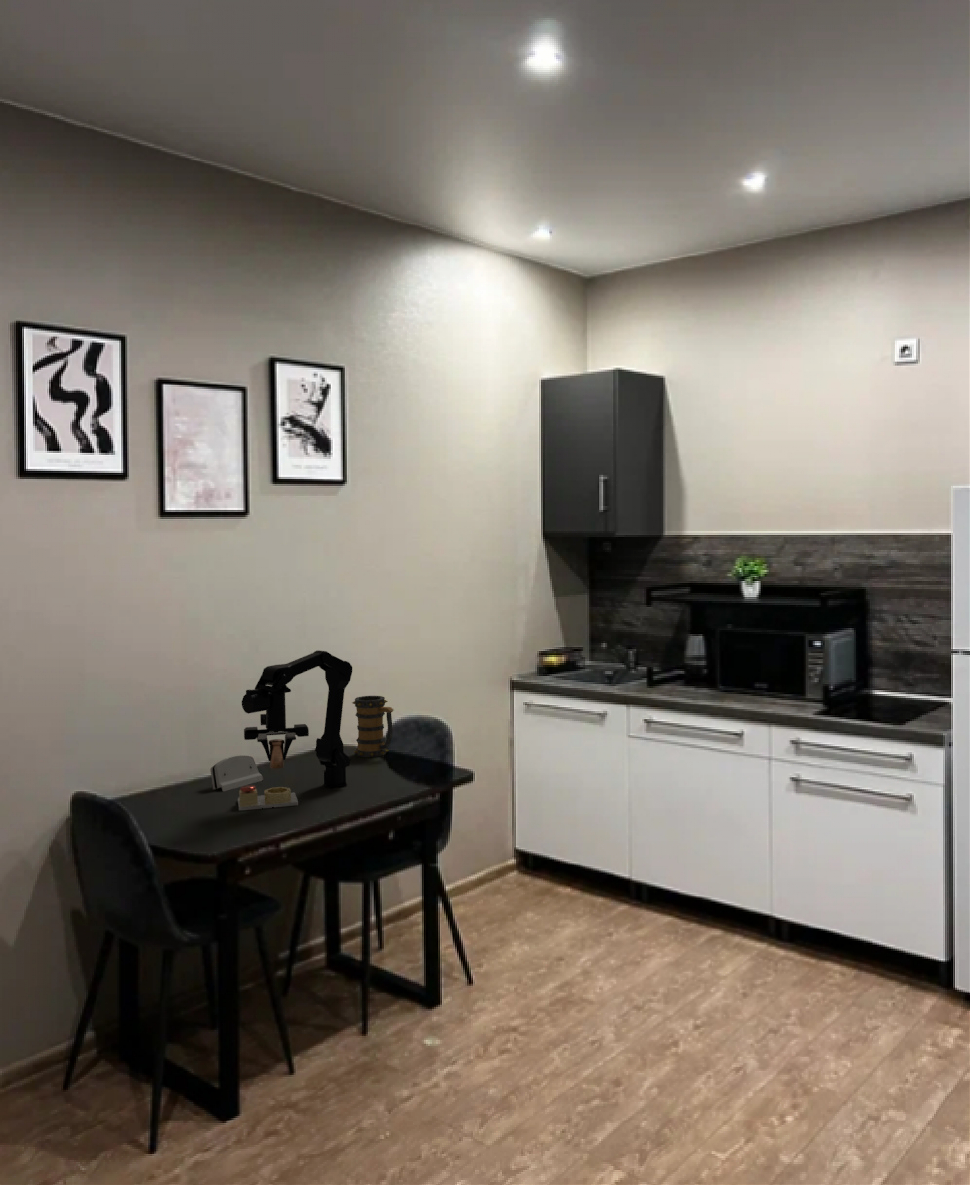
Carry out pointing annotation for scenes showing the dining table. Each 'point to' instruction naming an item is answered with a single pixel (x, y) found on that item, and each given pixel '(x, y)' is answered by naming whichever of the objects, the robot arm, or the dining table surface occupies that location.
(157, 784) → the dining table surface
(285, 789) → the panel with octagonal sockets
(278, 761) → the pipe stub
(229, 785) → the hinge
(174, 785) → the dining table surface
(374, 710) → the mug
